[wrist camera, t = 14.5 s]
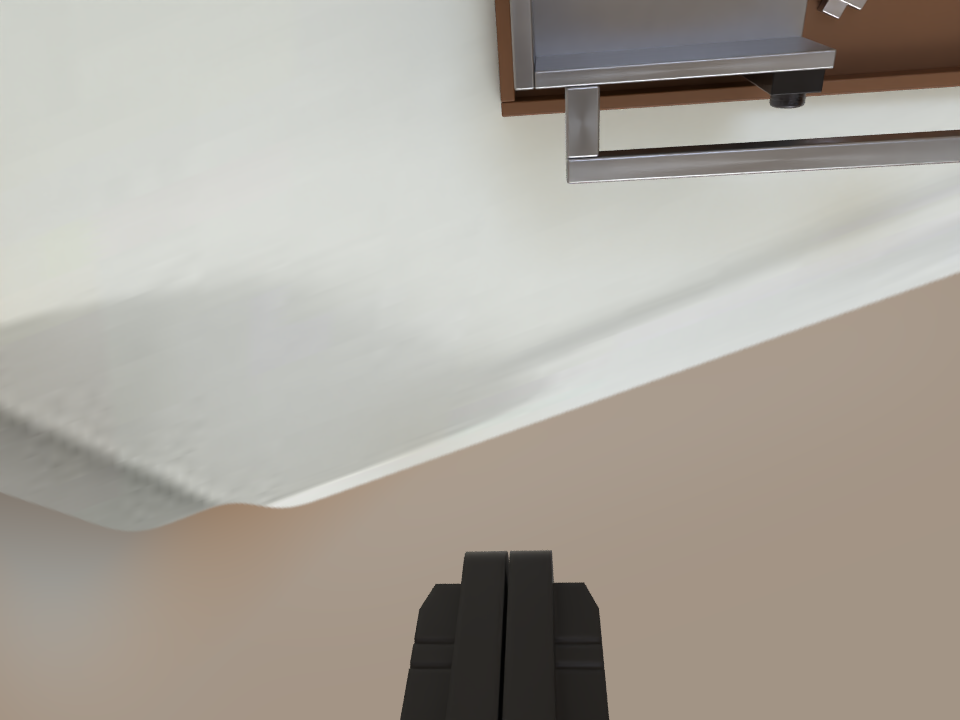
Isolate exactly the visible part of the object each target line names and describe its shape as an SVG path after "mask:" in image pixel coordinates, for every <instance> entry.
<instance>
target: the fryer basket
mask: <svg viewBox="0 0 960 720" xmlns="http://www.w3.org/2000/svg"><path fill="white" fill-rule="evenodd" d="M807 1H808V0H510V13H511V33H512V52H513V72H514V88H515V90H530V89H534V87H535V89H545V88H559V87H565V124H566V178H567V183H569V184H576V183H594V182H612V181H630V180H649V179H667V178H685V177H703V176H721V175H740V174H758V173H776V172H794V171H812V170H831V169H849V168H867V167H885V166H903V165H922V164H940V163H958V162H960V130H947V131H931V132H914V133H897V134H881V135H864V136H847V137H831V138H814V139H797V140H780V141H764V142H747V143H730V144H714V145H697V146H680V147H664V148H647V149H630V150H614V151H599V120H600V87H599V85H601V84H615V83H630V82H644V81H658V80H672V79H686V78H701V77H715V76H729V75H743V74H757V73H771V72H786V71H800V70H814V69H828V68H833V67H834V63H835V57H836V49H833V48H830V47H828V46H825V45H822V44H820V43H817V42H814V41H812V40H809V39H806V38H804V37H802V35H803V28H804V21H805V15H806V8H807Z"/></svg>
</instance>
